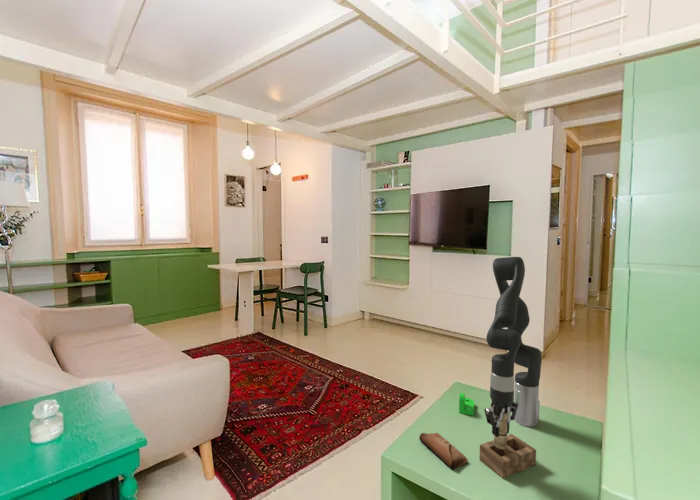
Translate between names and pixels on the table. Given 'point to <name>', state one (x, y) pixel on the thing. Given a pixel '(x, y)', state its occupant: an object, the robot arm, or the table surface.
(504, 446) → the peg
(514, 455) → the brown wooden box
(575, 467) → the table surface
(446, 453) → the sunglasses case
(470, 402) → the mechanical part
